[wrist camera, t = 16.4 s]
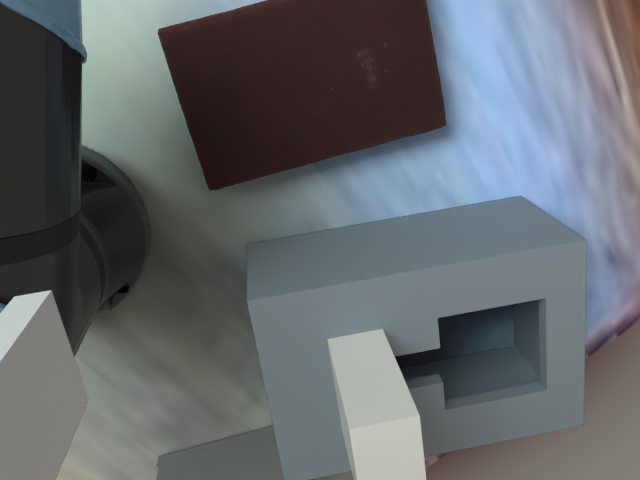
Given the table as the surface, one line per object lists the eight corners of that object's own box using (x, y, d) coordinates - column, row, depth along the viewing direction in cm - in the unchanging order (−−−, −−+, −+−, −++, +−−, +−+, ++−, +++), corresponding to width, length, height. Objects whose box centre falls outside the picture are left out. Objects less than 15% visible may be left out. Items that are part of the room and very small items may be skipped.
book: (160, 27, 45) (154, 28, 42) (409, -40, 46) (421, -44, 43) (212, 183, 50) (209, 195, 47) (438, 122, 50) (450, 129, 47)
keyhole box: (278, 400, 57) (285, 484, 47) (247, 243, 51) (246, 301, 41) (525, 353, 58) (583, 425, 48) (521, 195, 53) (586, 239, 42)
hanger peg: (320, 387, 51) (349, 540, 36) (305, 303, 48) (331, 432, 34) (389, 374, 52) (447, 520, 37) (379, 290, 49) (437, 412, 34)
